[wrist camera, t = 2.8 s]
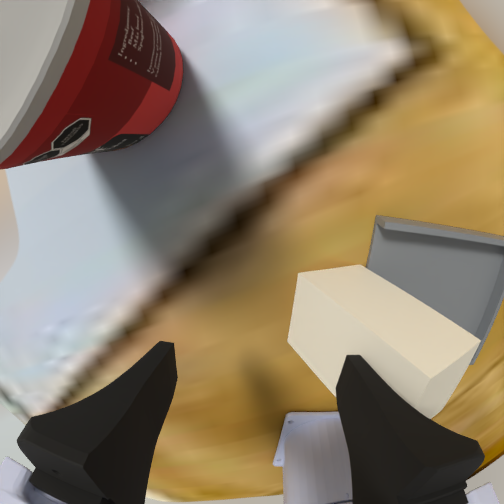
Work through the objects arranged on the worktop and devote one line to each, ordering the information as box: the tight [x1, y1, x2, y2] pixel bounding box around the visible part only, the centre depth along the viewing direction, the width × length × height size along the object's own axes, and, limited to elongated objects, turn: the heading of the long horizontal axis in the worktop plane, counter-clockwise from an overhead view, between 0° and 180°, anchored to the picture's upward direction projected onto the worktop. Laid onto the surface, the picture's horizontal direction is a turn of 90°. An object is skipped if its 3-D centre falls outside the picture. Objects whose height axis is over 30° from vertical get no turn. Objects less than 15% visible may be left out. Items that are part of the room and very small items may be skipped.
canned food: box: [0, 0, 183, 169], centre depth 9 cm, size 8×8×11 cm
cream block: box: [287, 265, 481, 419], centre depth 13 cm, size 4×4×9 cm
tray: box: [366, 215, 504, 365], centre depth 17 cm, size 11×12×2 cm
